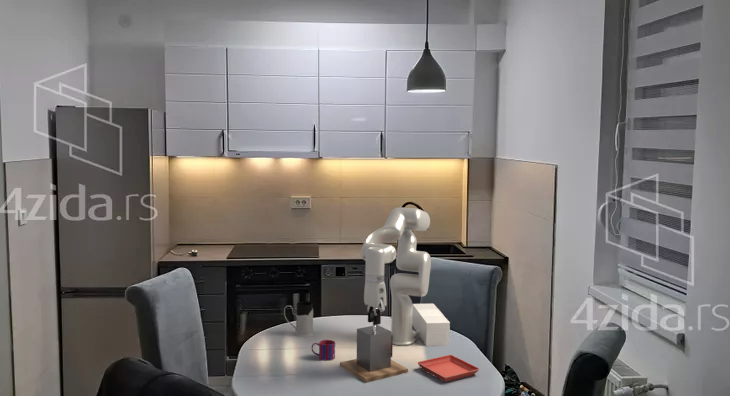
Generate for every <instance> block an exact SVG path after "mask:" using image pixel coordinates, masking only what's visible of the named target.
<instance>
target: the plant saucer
mask: <svg viewBox="0 0 730 396" xmlns="http://www.w3.org/2000/svg"><path fill="white" fill-rule="evenodd" d="M417 364H418V365H419V367H420V368H421V369H422V370H423V371H424V372H426V373H428V374H430V375H431V374H432V376H433V375H434V376H433V377H435V376H436V377H435V378H437V379H438V380H441V381H442V380H443V381H442V382H444V381H445V383H448V382H452V381H455V379H456V380H459V378H460V379H463V377H464V378H466V377H467V376H468V377H471V376H474V375H475V374H476V373H478V372H479V370H480V368H479V367H477V366H475V365H473V364H471V363H469V362H467V361H465V360H463V359H461V358H459V357H458V356H455V355H453V354H448V355H444V356H443V355H442V356H438V357H434V358H431V359H426V360H420V361H417ZM468 377H467V378H468ZM451 380H452V381H451ZM447 381H448V382H447Z"/></svg>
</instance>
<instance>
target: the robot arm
mask: <svg viewBox="0 0 730 396" xmlns="http://www.w3.org/2000/svg"><path fill="white" fill-rule="evenodd" d="M430 225H431V218H430V215H429V213H428V212H426V211H424V210H422V209H419V208H415V207H395V208H393V209H392V210H391V212H390V214H389V215H388V218H387V220H386V221H385V223H384V224H383V226H382V227H380V228H378V229H376V230H375V231H373V232H371V233H370V234H368V236H367V237H366V239H365V240H364V242H363V243H362V247H361V249H360V256H361V258H362V260H363V261H365V279H364V280H365V282H364V283H365V284H364V291H363V292H364V293H363V303H364V305H365V307H366V309H367V310H366V312H367V322H368V323H372V326H373V325H381V323H382V322H381V320H382V313H384V311H386V307H387V290H386V283H385V264H390V263H393V261H394V260H395V259H396V261H395V265H396V268H397V269H398V270H399V271H405V272H416V273H418V274H414V273H413V274H412V273H403V272H402V273H399V272H398V273H394V274H393V275H391V278H390V280H389V287H390V293H391V328H390V329H391V330H390V331H391V335H393V345H396V346H409V345H413V344H415V343H416V338H415V337H416V336H419V335H420V331H416V330H415V329H413V325H412V316H413V315H412V314H413V313H412V312H413V301H412V299H411V296H413V297H425V296H427V294H428V291H429V285H430V275H431V268H432V267H431V266H432V258H431V255H430V254H429V253H428V252H427V251H421V250H417V243H418V241H417V237H416V235H415V234H414V232H413V231H416V232H417V231H420V232H425V231H427V230H428V229H429V227H430ZM396 241H398V242H397V250H396V248H395V246H393V245H391V244H390V243H393V242H396ZM372 311H374V315H373V321H372V320H370V312H372Z"/></svg>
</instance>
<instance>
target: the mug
mask: <svg viewBox="0 0 730 396" xmlns="http://www.w3.org/2000/svg"><path fill="white" fill-rule="evenodd" d="M315 345H317V346H318V348H319V349H318V351H319V352H318V353H317V352H316V351H315V350H314V346H315ZM311 352H312V353H313V354H314V355H315V356H318V357H319V360H321V361H324V362H325V361H328V362H329V361H333V360H335V359H336V341H335V340H332V339H323V340H320V341H319V343H318V342H314V343H312V345H311Z"/></svg>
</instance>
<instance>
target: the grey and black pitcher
mask: <svg viewBox="0 0 730 396" xmlns="http://www.w3.org/2000/svg"><path fill="white" fill-rule="evenodd" d="M288 307H289V308H291V310H292V314H293V315H294V316H296V320H295V321H296V323H295V324H296V326H295V325H294V324H293V323H292V322H290V321H289V320H288V318H287V317H286V308H288ZM283 315H284V318H285V320H286V322H287V323H289V325H291V326H292V328H294V329H295V333H294V335H295V336H296V337H298V338H309V337H313V336H314V335H315V334H314V308H313V301H312V302H311V301H308V300H303V301H298V302H297V303H296V313H294V308H293V306H292V305H285V307H284V309H283Z"/></svg>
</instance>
